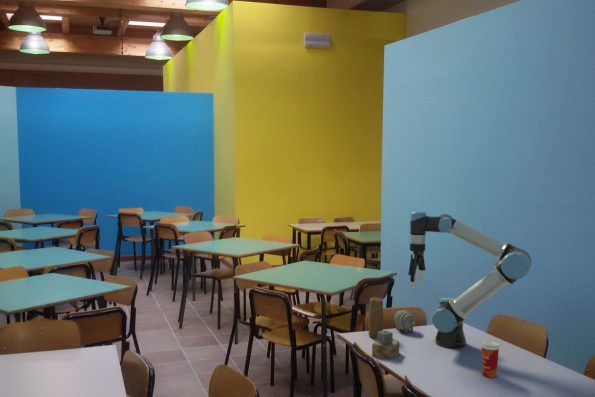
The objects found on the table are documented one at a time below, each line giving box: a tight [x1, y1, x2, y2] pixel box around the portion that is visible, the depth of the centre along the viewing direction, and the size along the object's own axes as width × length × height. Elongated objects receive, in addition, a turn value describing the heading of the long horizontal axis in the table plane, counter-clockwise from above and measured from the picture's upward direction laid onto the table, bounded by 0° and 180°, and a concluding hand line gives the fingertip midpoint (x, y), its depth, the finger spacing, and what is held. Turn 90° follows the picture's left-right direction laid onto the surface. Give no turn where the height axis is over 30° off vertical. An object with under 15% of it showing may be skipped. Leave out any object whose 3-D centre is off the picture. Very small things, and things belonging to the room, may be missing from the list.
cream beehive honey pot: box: [393, 310, 417, 334], centre depth 307 cm, size 11×17×11 cm, turn 32°
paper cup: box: [480, 341, 500, 379], centre depth 242 cm, size 8×8×14 cm
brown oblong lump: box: [368, 296, 384, 339], centre depth 298 cm, size 11×8×20 cm
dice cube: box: [377, 329, 393, 345], centre depth 269 cm, size 5×5×5 cm
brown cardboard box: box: [371, 339, 400, 360], centre depth 269 cm, size 10×10×6 cm
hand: (416, 285), depth 279 cm, fingers open, 13 cm apart
